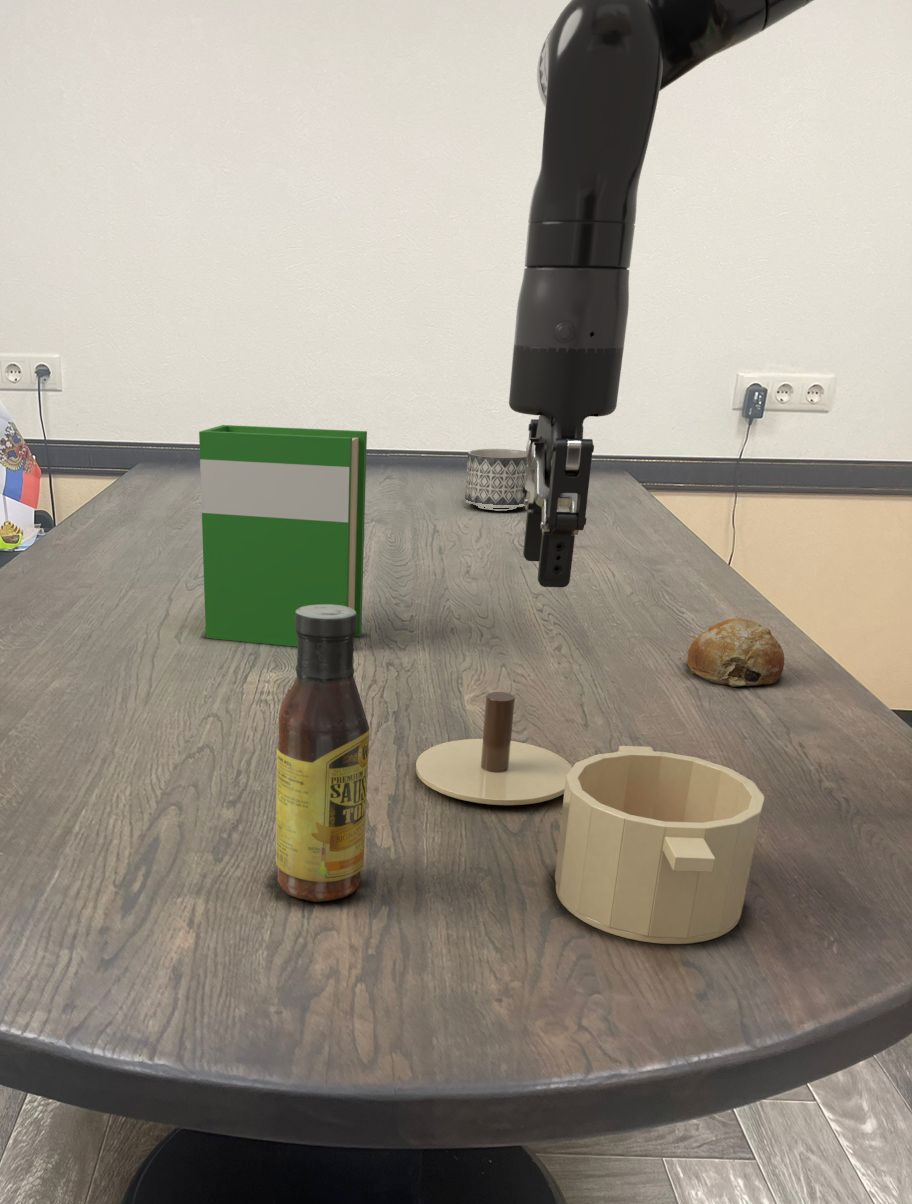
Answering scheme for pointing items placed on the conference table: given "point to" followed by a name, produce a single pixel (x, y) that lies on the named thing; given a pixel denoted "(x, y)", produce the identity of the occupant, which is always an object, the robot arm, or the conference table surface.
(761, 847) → the conference table surface
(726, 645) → the bread roll
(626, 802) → the pot
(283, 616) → the hardback book
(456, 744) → the lid
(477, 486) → the planter
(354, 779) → the sauce bottle
